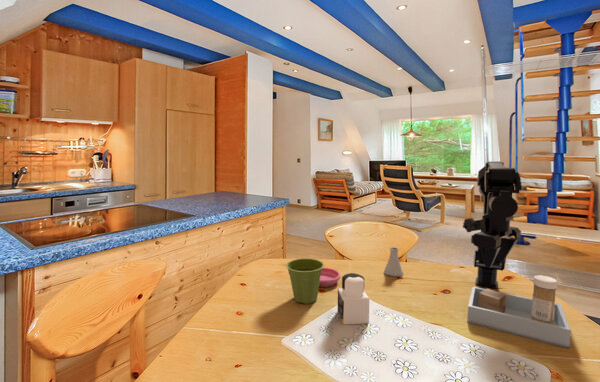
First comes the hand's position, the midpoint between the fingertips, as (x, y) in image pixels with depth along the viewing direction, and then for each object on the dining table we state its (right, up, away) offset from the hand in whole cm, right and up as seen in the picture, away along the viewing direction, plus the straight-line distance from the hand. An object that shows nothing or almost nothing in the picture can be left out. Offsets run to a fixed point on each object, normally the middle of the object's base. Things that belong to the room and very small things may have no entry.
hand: (494, 264), depth 87 cm
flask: (-21, -10, +27) cm, 36 cm away
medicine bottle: (-42, -14, -4) cm, 45 cm away
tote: (+1, -14, -6) cm, 15 cm away
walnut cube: (-2, -13, -2) cm, 13 cm away
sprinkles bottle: (+4, -14, -11) cm, 18 cm away
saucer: (-48, -12, +21) cm, 54 cm away
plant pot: (-55, -13, +7) cm, 57 cm away
